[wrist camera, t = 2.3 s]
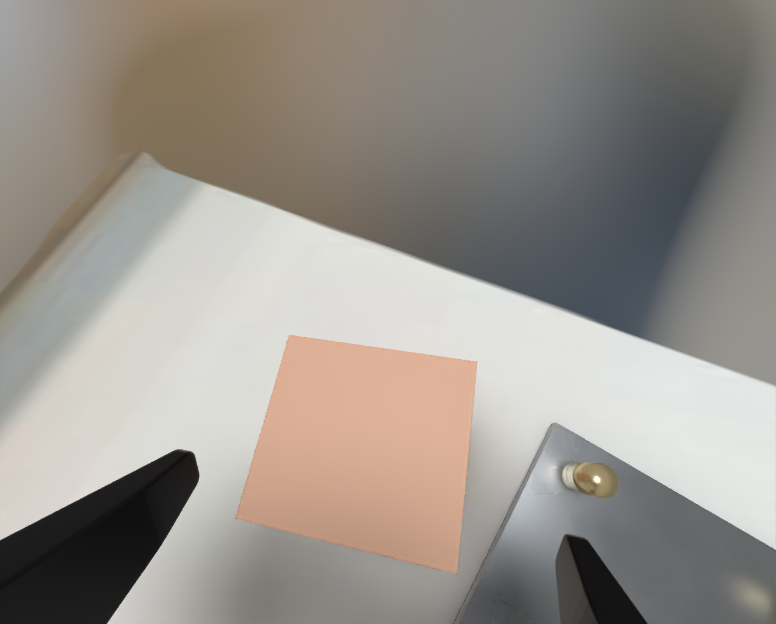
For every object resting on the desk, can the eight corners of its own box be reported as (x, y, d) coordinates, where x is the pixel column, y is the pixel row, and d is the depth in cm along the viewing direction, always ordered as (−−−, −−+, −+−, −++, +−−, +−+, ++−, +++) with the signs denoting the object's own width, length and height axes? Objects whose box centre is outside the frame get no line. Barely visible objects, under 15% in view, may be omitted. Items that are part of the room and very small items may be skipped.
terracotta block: (445, 503, 17) (457, 574, 7) (352, 483, 17) (235, 518, 7) (454, 416, 18) (477, 361, 8) (368, 401, 19) (289, 334, 9)
